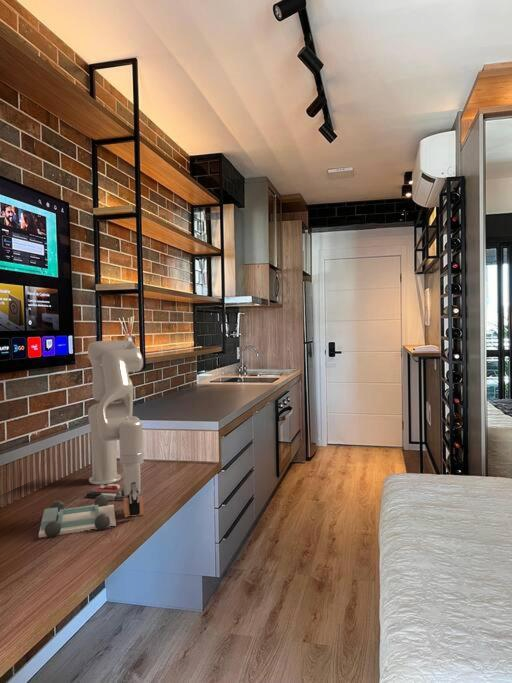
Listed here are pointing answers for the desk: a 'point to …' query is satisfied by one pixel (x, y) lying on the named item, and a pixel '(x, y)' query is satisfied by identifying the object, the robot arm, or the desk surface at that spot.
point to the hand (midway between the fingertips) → (133, 509)
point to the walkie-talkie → (108, 491)
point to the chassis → (77, 518)
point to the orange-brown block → (126, 505)
